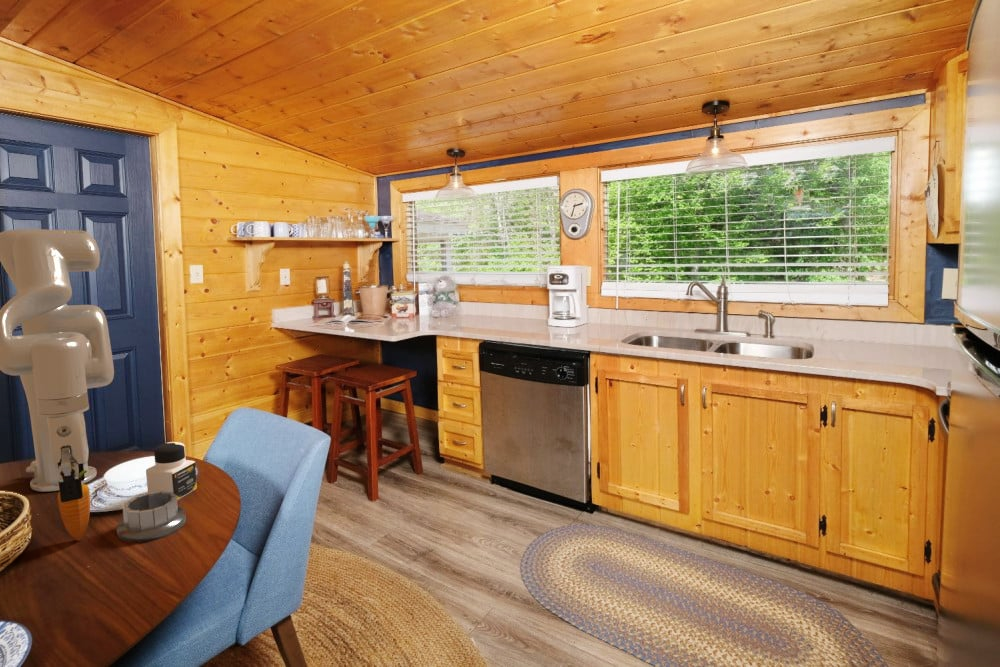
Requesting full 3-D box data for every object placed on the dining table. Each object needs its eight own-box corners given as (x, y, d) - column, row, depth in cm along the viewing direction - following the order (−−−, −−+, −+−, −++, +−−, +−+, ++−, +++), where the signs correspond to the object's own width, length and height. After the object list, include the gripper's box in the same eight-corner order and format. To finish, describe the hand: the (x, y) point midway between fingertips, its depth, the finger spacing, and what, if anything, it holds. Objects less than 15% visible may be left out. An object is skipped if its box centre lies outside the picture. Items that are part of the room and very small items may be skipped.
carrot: (73, 534, 109) (65, 463, 107) (100, 533, 110) (92, 462, 107) (56, 548, 104) (47, 474, 102) (84, 547, 105) (76, 473, 103)
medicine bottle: (174, 502, 123) (170, 452, 121) (147, 499, 125) (143, 449, 123) (197, 488, 130) (194, 440, 128) (172, 485, 131) (168, 438, 129)
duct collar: (102, 539, 108) (99, 513, 107) (147, 510, 119) (145, 486, 119) (158, 544, 106) (155, 518, 105) (198, 514, 118) (196, 490, 117)
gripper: (86, 412, 98) (96, 502, 100) (89, 391, 112) (98, 471, 114) (31, 419, 93) (43, 513, 96) (41, 397, 107) (52, 479, 110)
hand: (73, 490), depth 105 cm, fingers open, 9 cm apart
